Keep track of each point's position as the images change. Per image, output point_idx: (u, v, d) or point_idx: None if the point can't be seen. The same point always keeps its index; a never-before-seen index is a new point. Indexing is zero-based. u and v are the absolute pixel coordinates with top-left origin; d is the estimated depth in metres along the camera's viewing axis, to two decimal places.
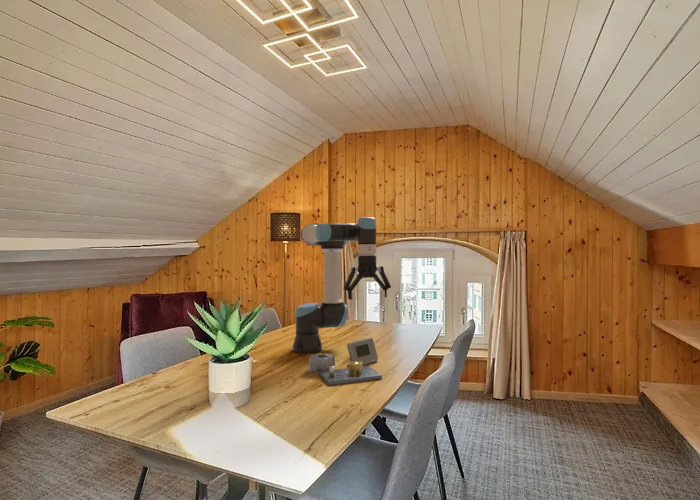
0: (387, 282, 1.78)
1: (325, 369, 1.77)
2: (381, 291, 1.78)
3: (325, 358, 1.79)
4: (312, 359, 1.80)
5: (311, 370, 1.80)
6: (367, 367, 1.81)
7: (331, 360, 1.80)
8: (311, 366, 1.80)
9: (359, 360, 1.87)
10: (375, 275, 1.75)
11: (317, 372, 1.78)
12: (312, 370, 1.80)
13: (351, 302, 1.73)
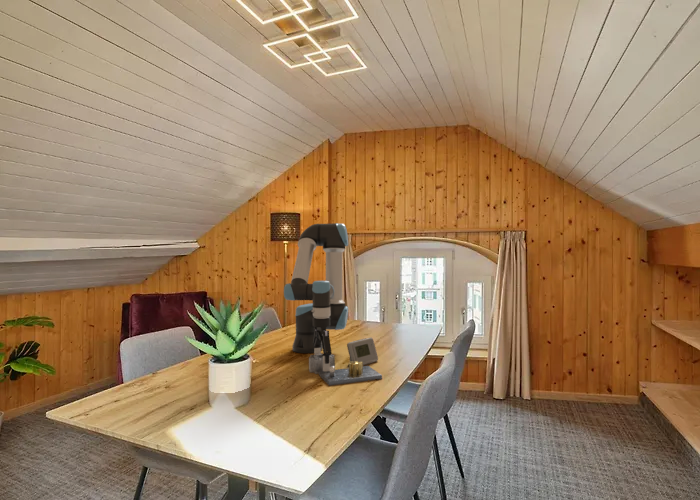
0: (324, 348, 1.74)
1: None
2: None
3: None
4: (312, 359, 1.80)
5: (311, 370, 1.80)
6: (367, 367, 1.81)
7: (331, 360, 1.80)
8: (311, 366, 1.80)
9: (359, 360, 1.87)
10: (319, 338, 1.79)
11: (317, 372, 1.78)
12: (312, 370, 1.80)
13: None
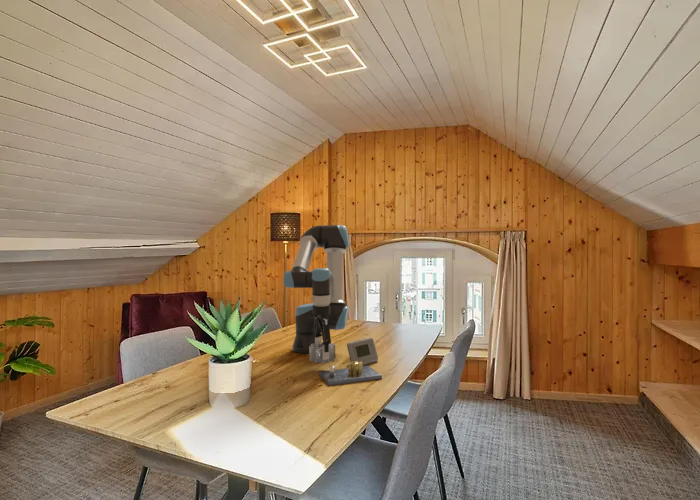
0: (324, 337, 1.75)
1: None
2: None
3: None
4: (312, 348, 1.80)
5: (311, 359, 1.80)
6: (367, 367, 1.81)
7: (331, 349, 1.80)
8: (311, 355, 1.80)
9: (359, 360, 1.87)
10: (319, 326, 1.79)
11: (317, 361, 1.78)
12: (312, 359, 1.81)
13: None
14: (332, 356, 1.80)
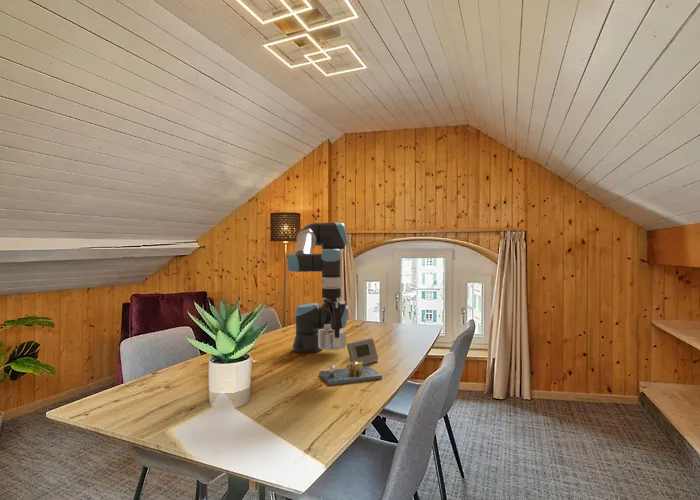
0: (334, 321, 1.62)
1: None
2: None
3: None
4: (322, 334, 1.67)
5: (320, 346, 1.67)
6: (367, 367, 1.81)
7: (342, 336, 1.67)
8: (320, 342, 1.67)
9: (359, 360, 1.87)
10: (329, 310, 1.67)
11: (327, 348, 1.65)
12: (322, 346, 1.67)
13: None
14: (343, 343, 1.67)
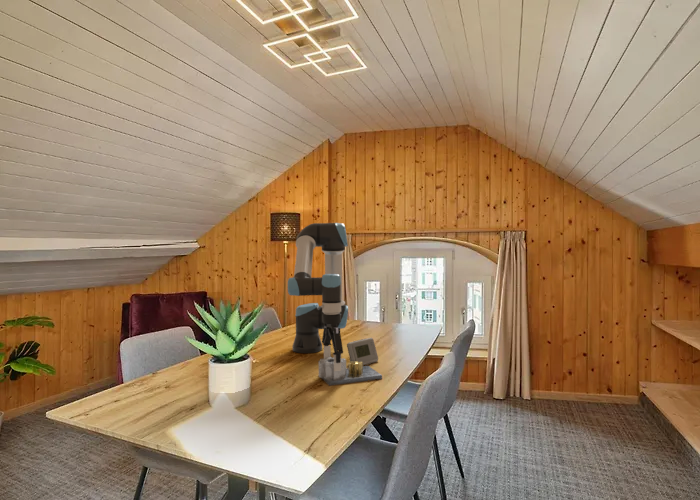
0: (335, 347, 1.62)
1: (336, 374, 1.65)
2: None
3: None
4: (322, 363, 1.68)
5: (321, 375, 1.68)
6: (367, 367, 1.81)
7: (342, 365, 1.67)
8: (321, 371, 1.67)
9: (359, 360, 1.87)
10: (330, 335, 1.67)
11: (328, 377, 1.66)
12: (322, 375, 1.68)
13: None
14: (343, 372, 1.68)
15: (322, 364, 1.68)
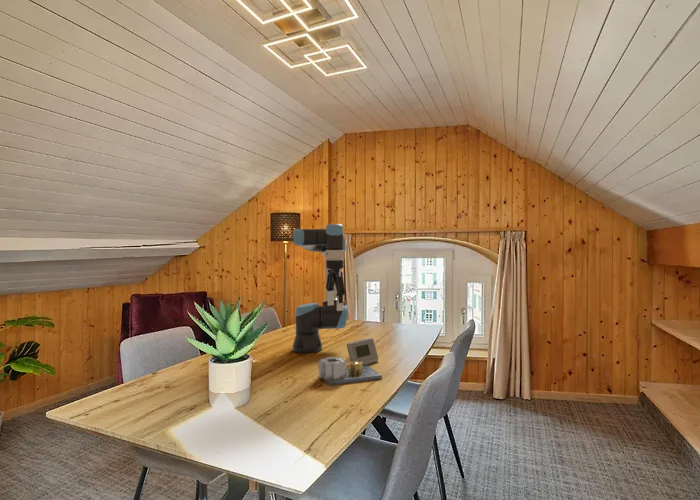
0: (338, 288, 1.78)
1: (336, 374, 1.65)
2: None
3: (336, 362, 1.67)
4: (322, 363, 1.68)
5: (321, 375, 1.68)
6: (367, 367, 1.81)
7: (342, 365, 1.67)
8: (321, 371, 1.67)
9: (359, 360, 1.86)
10: (333, 279, 1.83)
11: (328, 377, 1.66)
12: (322, 375, 1.68)
13: None
14: (343, 372, 1.68)
15: (322, 364, 1.68)
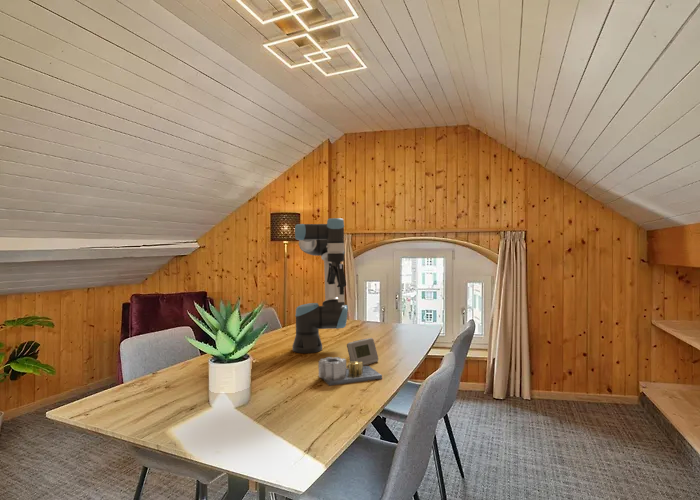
0: (339, 280, 1.83)
1: (336, 374, 1.65)
2: None
3: (336, 362, 1.67)
4: (322, 363, 1.68)
5: (321, 375, 1.68)
6: (367, 367, 1.81)
7: (342, 365, 1.67)
8: (321, 371, 1.67)
9: (359, 360, 1.86)
10: (334, 272, 1.88)
11: (328, 377, 1.66)
12: (322, 375, 1.68)
13: None
14: (343, 372, 1.68)
15: (322, 364, 1.68)
